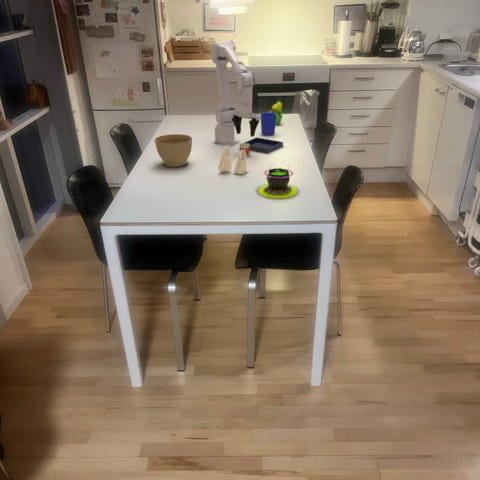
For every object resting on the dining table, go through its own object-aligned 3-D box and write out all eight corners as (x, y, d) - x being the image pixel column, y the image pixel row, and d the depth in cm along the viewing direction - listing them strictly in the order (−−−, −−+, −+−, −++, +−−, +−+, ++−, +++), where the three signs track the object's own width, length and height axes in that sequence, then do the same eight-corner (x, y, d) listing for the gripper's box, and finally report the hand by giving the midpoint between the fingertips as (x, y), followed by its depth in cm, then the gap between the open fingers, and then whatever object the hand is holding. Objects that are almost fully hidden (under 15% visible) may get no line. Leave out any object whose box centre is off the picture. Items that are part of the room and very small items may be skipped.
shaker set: (217, 173, 200) (216, 146, 193) (219, 170, 203) (218, 144, 197) (245, 175, 198) (245, 148, 192) (246, 171, 202) (247, 145, 195)
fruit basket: (263, 121, 273) (263, 100, 267) (277, 120, 275) (278, 99, 269) (270, 126, 264) (270, 104, 258) (284, 125, 266) (285, 103, 260)
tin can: (237, 155, 220) (237, 144, 217) (243, 153, 223) (243, 142, 220) (245, 157, 218) (245, 146, 215) (251, 155, 221) (251, 144, 218)
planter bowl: (198, 159, 216) (197, 135, 209) (185, 171, 203) (184, 145, 197) (165, 157, 219) (163, 132, 213) (151, 168, 206) (148, 142, 200)
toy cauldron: (273, 181, 192) (274, 154, 185) (304, 190, 184) (307, 161, 177) (250, 192, 182) (250, 163, 176) (282, 201, 175) (283, 171, 168)
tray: (240, 148, 229) (240, 144, 228) (256, 142, 239) (256, 137, 237) (267, 154, 222) (267, 149, 221) (282, 146, 232) (283, 141, 230)
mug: (276, 130, 256) (277, 111, 250) (275, 136, 246) (276, 116, 241) (261, 130, 257) (261, 110, 251) (259, 136, 247) (260, 116, 241)
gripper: (264, 103, 209) (263, 135, 217) (237, 99, 216) (237, 130, 224) (255, 106, 204) (255, 138, 212) (228, 102, 211) (228, 134, 219)
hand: (245, 134), depth 218 cm, fingers open, 7 cm apart
